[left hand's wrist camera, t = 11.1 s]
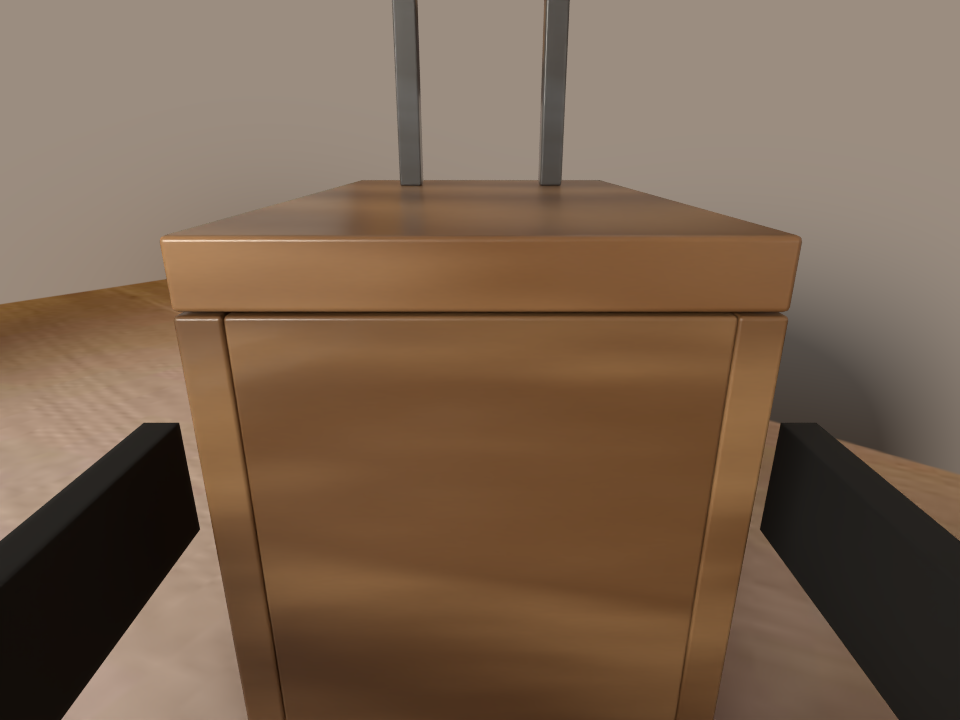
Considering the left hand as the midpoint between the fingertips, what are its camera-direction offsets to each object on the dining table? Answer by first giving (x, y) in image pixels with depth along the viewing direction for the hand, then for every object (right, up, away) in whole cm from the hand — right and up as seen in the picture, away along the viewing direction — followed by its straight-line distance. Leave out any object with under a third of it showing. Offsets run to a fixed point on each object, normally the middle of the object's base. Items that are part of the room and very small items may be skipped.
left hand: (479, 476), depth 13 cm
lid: (0, +6, +3) cm, 7 cm away
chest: (0, -4, +6) cm, 7 cm away
